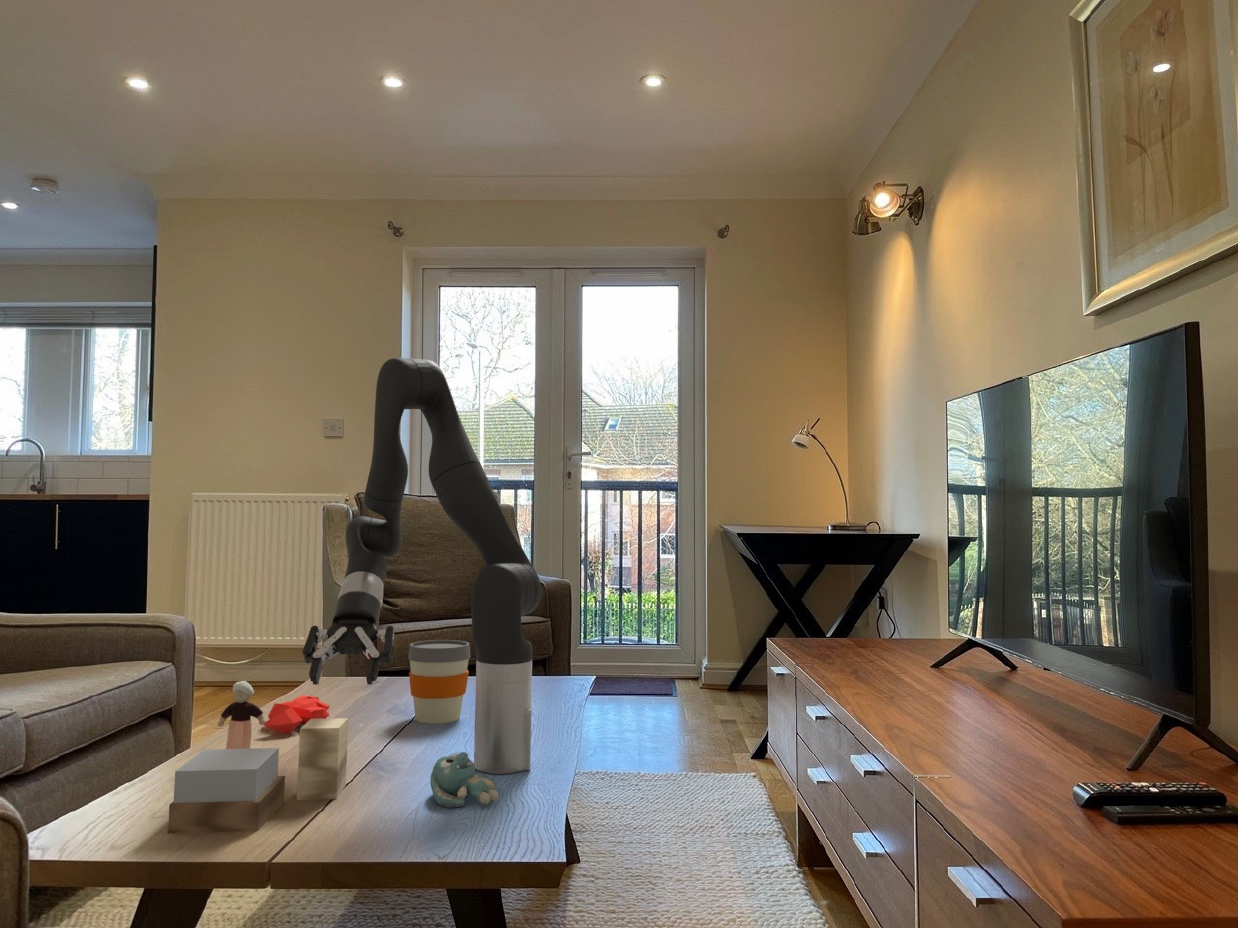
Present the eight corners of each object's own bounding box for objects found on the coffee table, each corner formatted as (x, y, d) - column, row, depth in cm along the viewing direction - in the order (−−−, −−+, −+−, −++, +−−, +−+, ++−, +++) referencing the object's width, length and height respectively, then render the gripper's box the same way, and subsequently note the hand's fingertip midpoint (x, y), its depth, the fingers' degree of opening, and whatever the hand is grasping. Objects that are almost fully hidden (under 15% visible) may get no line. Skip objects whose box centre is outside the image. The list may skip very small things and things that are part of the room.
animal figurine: (252, 739, 147) (253, 711, 147) (276, 719, 161) (277, 694, 162) (318, 738, 148) (319, 710, 148) (335, 718, 163) (336, 693, 163)
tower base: (283, 804, 114) (284, 775, 114) (257, 834, 103) (259, 802, 103) (202, 806, 113) (204, 777, 113) (167, 836, 102) (169, 804, 102)
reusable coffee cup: (454, 727, 157) (456, 649, 158) (394, 723, 159) (397, 647, 160) (477, 713, 169) (479, 641, 170) (422, 709, 171) (424, 638, 172)
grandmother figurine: (212, 762, 132) (216, 684, 133) (217, 755, 136) (220, 679, 136) (262, 759, 134) (266, 682, 135) (266, 752, 138) (269, 678, 139)
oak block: (345, 785, 121) (348, 718, 122) (336, 798, 115) (339, 727, 116) (308, 786, 121) (310, 718, 121) (296, 799, 115) (300, 728, 115)
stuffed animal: (468, 779, 108) (414, 747, 116) (460, 830, 108) (406, 794, 116) (523, 762, 117) (470, 732, 124) (516, 809, 117) (463, 777, 124)
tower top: (277, 776, 114) (278, 747, 114) (255, 800, 104) (256, 768, 104) (203, 778, 112) (204, 749, 113) (173, 803, 102) (175, 771, 103)
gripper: (314, 589, 139) (292, 668, 126) (398, 589, 140) (385, 667, 128) (321, 616, 144) (300, 695, 131) (402, 617, 145) (389, 694, 133)
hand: (342, 681), depth 130 cm, fingers open, 8 cm apart
